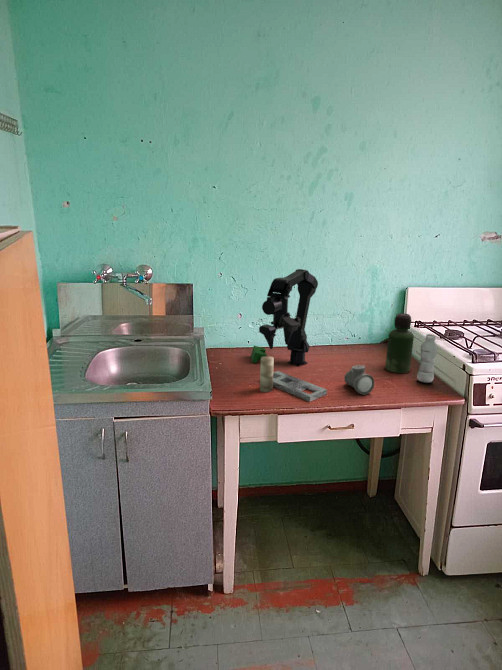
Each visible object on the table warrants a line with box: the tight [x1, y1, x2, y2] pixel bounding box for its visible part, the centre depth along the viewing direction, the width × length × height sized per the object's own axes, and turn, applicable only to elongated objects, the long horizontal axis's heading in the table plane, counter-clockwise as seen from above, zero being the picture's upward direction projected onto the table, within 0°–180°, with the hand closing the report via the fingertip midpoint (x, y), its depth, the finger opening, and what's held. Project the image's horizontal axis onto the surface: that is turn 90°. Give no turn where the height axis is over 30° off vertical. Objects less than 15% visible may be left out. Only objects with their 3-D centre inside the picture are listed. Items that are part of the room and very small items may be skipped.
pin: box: [259, 355, 275, 393], centre depth 184 cm, size 5×5×13 cm
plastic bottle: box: [416, 333, 438, 384], centre depth 194 cm, size 6×7×20 cm
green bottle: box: [384, 312, 415, 374], centre depth 206 cm, size 10×10×25 cm
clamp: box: [250, 345, 268, 364], centre depth 218 cm, size 11×6×8 cm, turn 177°
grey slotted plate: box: [273, 370, 328, 402], centre depth 188 cm, size 10×26×2 cm, turn 43°
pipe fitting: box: [343, 364, 375, 396], centre depth 187 cm, size 12×8×10 cm
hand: (279, 346), depth 196 cm, fingers open, 9 cm apart
